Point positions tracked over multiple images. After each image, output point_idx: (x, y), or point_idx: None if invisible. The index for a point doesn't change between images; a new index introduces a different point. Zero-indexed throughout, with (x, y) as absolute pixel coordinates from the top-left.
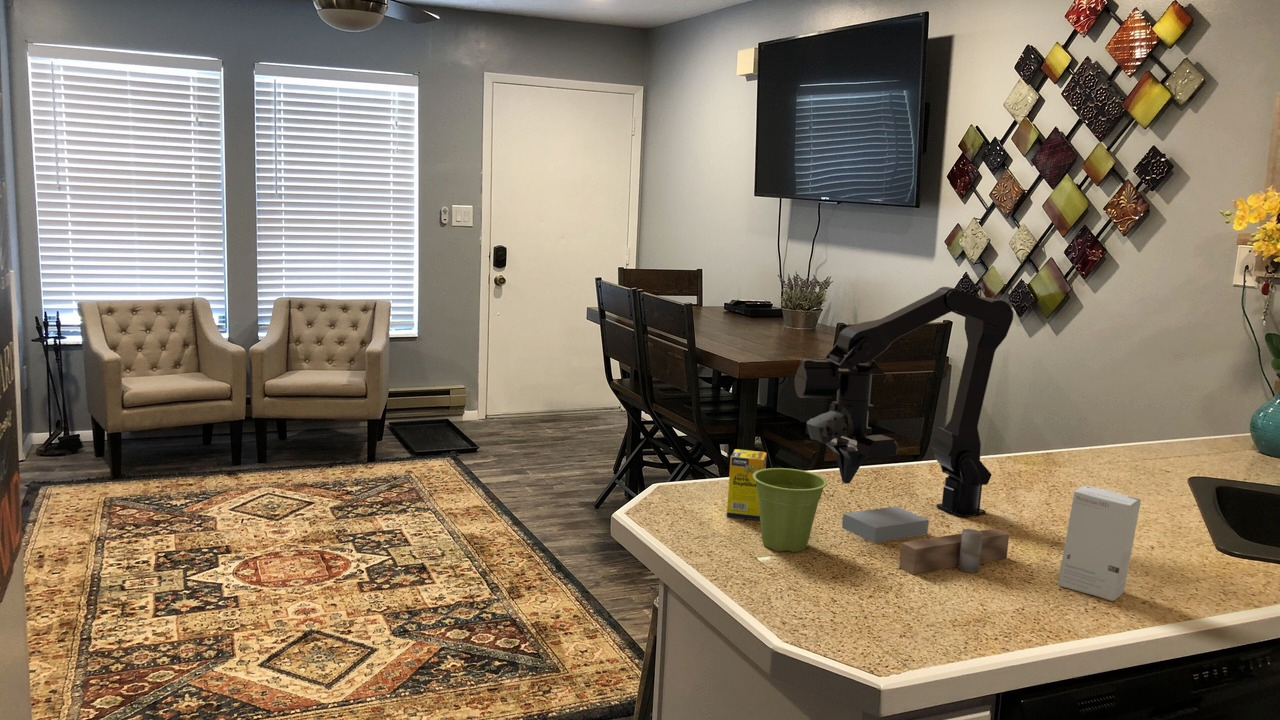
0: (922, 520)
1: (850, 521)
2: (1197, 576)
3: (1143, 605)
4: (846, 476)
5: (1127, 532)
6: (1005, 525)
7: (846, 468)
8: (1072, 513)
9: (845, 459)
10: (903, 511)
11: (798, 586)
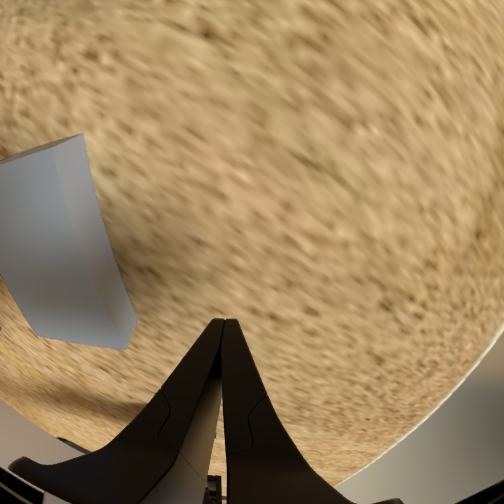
0: (28, 322)
1: (34, 151)
2: (10, 397)
3: None
4: (192, 346)
5: None
6: (114, 413)
7: (172, 383)
8: None
9: (161, 437)
10: (83, 336)
11: None
